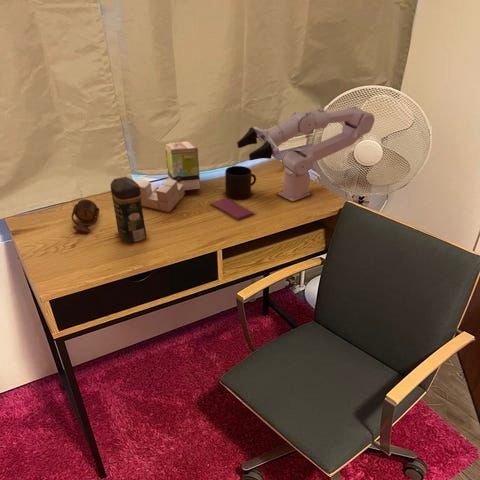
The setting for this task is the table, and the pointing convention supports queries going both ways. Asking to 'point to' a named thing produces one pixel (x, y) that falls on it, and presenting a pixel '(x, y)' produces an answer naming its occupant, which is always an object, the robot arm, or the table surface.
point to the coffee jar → (128, 209)
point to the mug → (238, 182)
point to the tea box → (183, 164)
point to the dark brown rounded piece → (85, 215)
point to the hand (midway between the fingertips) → (243, 151)
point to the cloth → (232, 209)
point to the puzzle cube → (161, 194)
